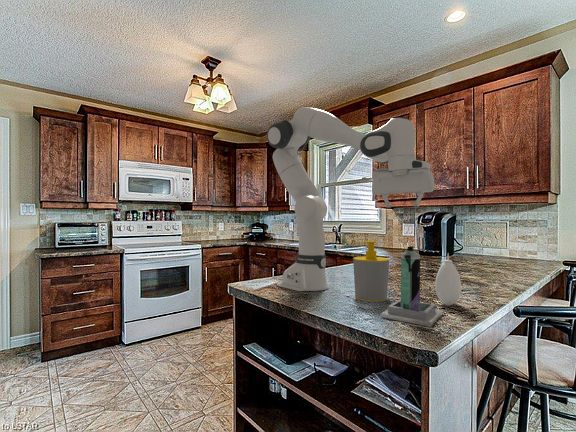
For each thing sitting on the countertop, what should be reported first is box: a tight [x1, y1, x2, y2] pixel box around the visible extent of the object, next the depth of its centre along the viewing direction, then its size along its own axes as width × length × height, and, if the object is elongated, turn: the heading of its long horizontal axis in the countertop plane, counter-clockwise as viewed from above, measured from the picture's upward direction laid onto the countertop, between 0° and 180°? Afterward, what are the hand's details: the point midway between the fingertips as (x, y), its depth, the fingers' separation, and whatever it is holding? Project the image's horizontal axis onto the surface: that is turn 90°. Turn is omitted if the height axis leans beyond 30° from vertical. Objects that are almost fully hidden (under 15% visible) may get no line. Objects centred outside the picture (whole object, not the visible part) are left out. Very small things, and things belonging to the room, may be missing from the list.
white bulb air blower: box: [434, 252, 462, 306], centre depth 113 cm, size 8×8×18 cm
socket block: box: [380, 298, 443, 327], centre depth 100 cm, size 14×14×3 cm
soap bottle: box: [352, 240, 390, 303], centre depth 122 cm, size 13×13×21 cm
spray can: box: [400, 246, 421, 311], centre depth 99 cm, size 6×6×20 cm
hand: (402, 207), depth 111 cm, fingers open, 8 cm apart
